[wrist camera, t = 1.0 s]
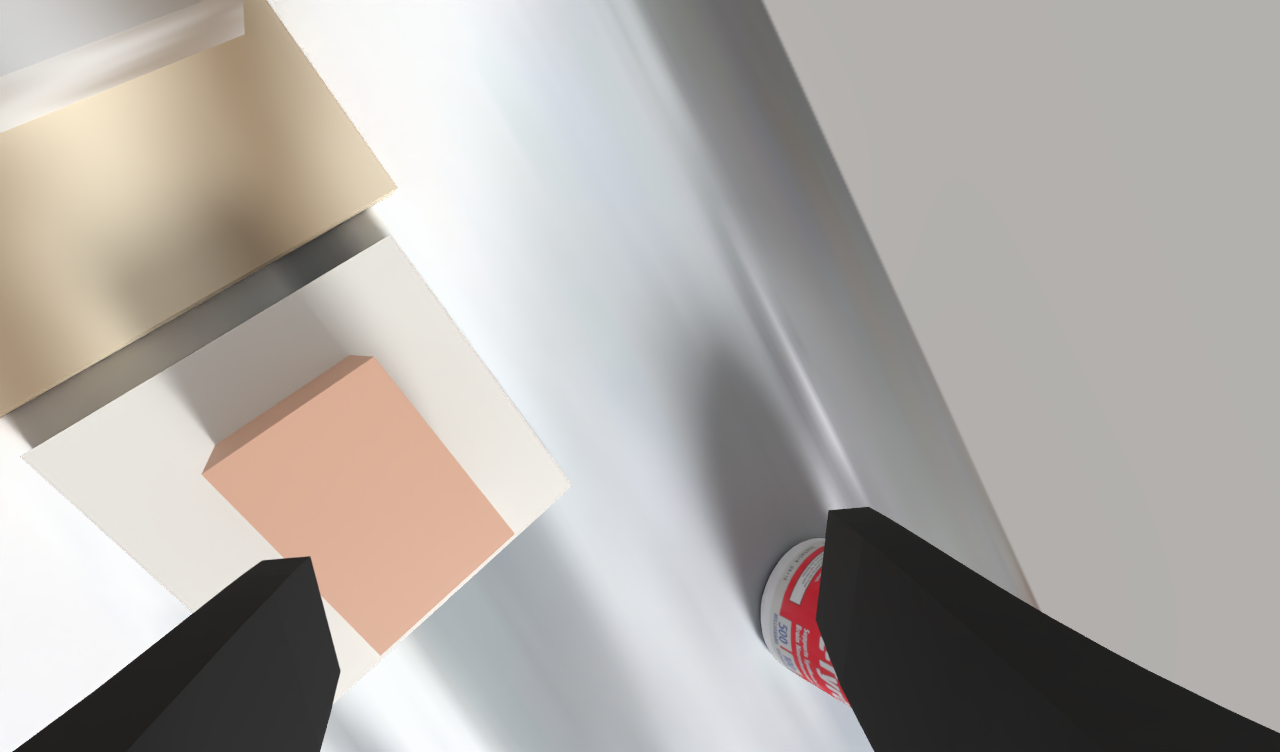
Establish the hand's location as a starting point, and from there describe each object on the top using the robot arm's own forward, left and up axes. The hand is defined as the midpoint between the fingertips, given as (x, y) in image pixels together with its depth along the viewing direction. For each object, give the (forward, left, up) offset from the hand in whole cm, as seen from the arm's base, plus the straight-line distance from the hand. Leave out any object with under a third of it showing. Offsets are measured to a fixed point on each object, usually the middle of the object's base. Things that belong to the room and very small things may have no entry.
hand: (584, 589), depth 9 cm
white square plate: (-2, +1, -13) cm, 13 cm away
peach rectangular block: (-2, +1, -12) cm, 12 cm away
